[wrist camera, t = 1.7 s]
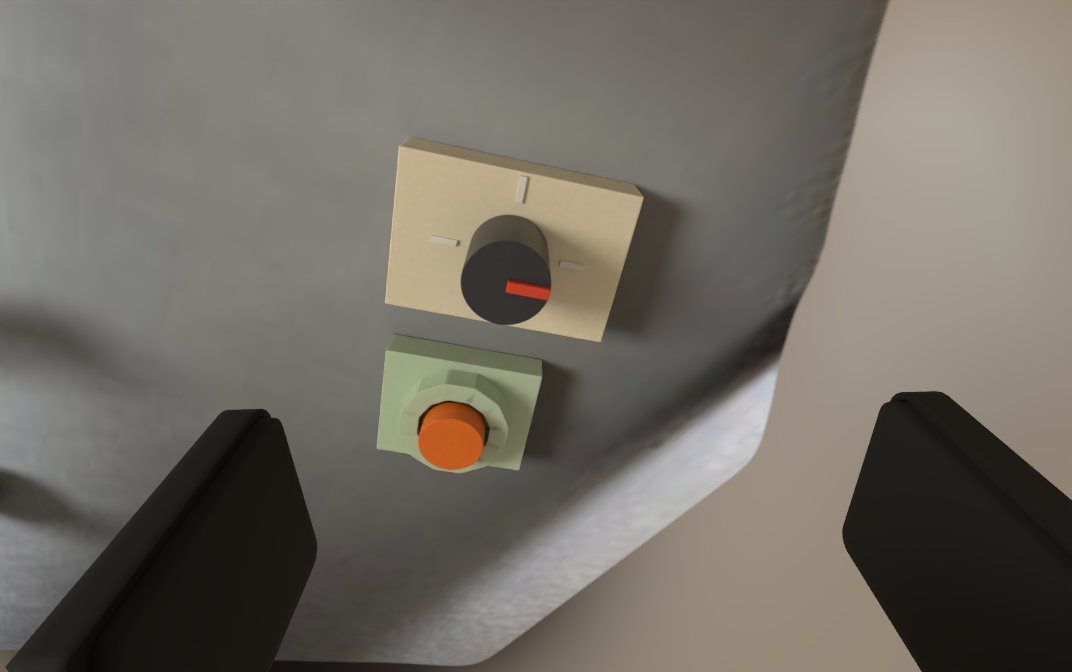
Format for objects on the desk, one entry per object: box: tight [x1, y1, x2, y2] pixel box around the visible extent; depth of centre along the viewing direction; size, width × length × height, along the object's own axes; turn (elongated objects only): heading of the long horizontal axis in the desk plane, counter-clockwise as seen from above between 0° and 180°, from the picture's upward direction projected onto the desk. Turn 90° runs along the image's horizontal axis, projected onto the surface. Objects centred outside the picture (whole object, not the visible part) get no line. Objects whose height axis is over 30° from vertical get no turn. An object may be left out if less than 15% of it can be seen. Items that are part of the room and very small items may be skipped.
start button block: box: [377, 334, 542, 473], centre depth 37 cm, size 10×8×4 cm
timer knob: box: [460, 215, 551, 325], centre depth 29 cm, size 4×4×5 cm
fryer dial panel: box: [385, 137, 644, 342], centre depth 32 cm, size 13×9×3 cm
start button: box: [418, 403, 485, 470], centre depth 35 cm, size 4×4×2 cm
